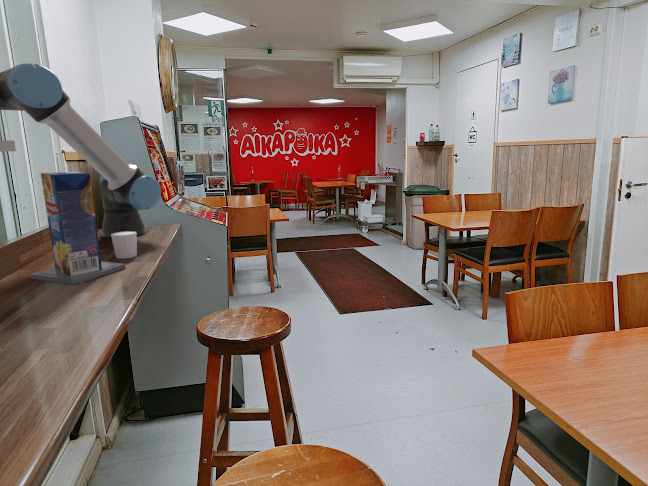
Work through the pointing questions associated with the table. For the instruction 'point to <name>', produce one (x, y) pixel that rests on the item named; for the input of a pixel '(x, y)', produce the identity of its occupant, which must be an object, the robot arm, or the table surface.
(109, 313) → the table surface
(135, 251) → the white cup
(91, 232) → the juice carton
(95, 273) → the slate board
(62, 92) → the robot arm
